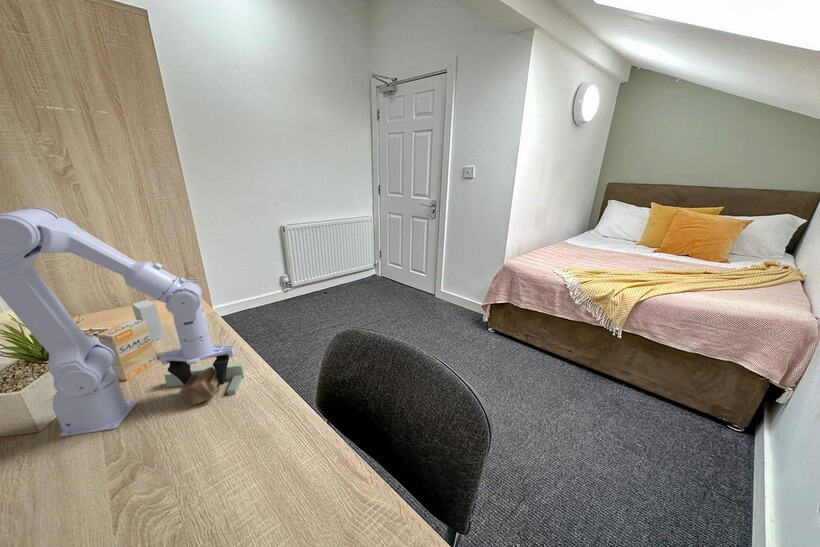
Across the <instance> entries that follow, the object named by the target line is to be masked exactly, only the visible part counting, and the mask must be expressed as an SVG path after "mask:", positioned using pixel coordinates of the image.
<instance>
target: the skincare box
mask: <svg viewBox="0 0 820 547" xmlns="http://www.w3.org/2000/svg"><path fill="white" fill-rule="evenodd" d="M131 307H132V310H133V314H134V316H135V320H141V321H146V324H147V327H148V331H149V334H150V338H151V341H152V344H154V343H155V342H159V341H160V340H161V341H162V340H164V339H166V335H165V333H164V329H163V324H162V322H161V317H160V314H159V311H158V308H157V304H156V303H154V302H153V301H151V300H149V299H145V300H141V301H138V302H134V303H131Z"/></svg>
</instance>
